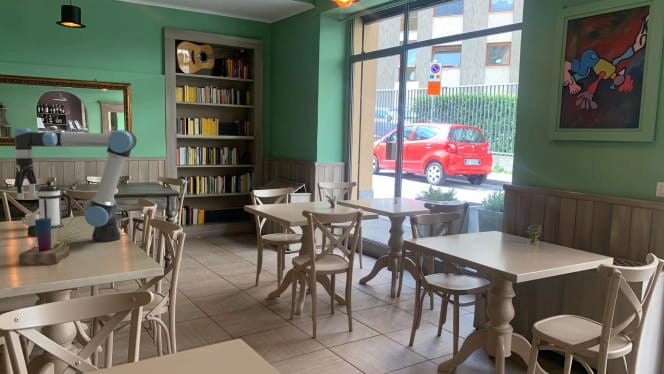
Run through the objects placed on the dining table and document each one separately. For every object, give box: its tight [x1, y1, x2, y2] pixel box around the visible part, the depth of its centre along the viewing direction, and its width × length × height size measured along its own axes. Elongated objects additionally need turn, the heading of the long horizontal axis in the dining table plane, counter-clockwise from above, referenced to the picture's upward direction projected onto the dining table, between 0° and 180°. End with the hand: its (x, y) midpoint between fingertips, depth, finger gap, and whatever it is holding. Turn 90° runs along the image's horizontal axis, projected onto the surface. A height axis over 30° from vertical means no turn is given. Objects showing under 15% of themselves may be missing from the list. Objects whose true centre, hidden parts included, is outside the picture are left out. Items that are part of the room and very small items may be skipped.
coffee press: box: [35, 180, 72, 228], centre depth 327 cm, size 17×16×30 cm
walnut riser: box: [18, 245, 70, 266], centre depth 245 cm, size 16×16×5 cm
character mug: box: [21, 213, 43, 237], centre depth 299 cm, size 11×7×13 cm, turn 118°
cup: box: [35, 218, 52, 251], centre depth 244 cm, size 7×7×15 cm
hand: (26, 197), depth 270 cm, fingers open, 13 cm apart
